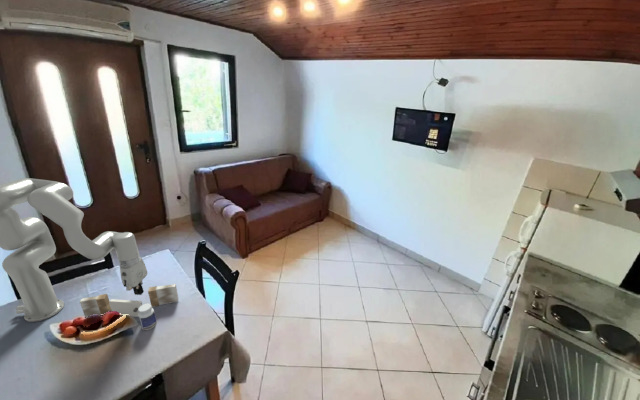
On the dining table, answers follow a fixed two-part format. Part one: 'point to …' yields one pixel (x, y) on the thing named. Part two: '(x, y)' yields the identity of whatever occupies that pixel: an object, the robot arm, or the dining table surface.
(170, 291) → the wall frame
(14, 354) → the dining table surface
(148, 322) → the pill bottle
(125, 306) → the white rectangular slab
